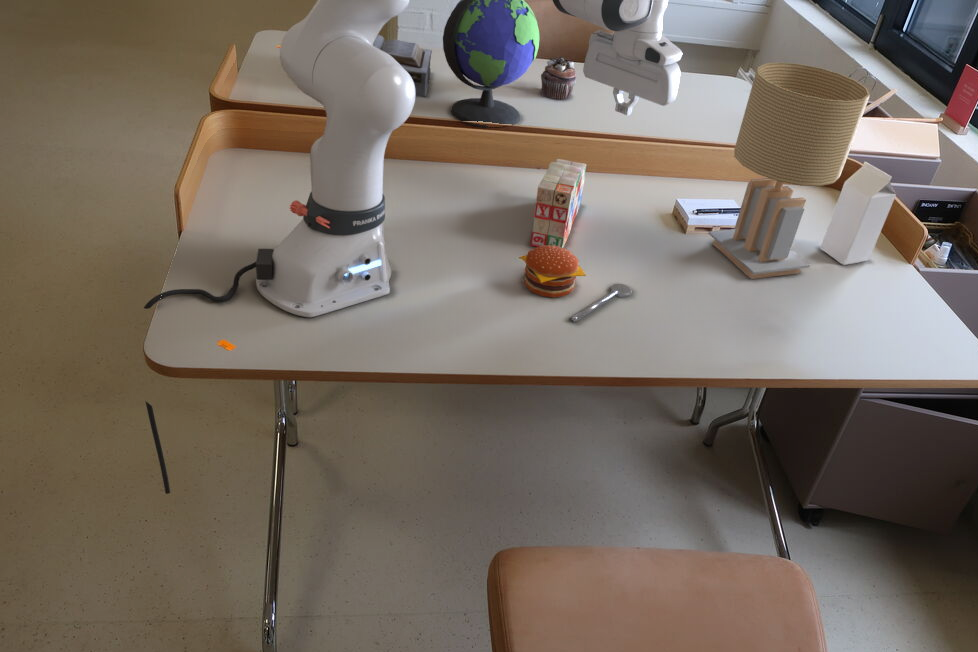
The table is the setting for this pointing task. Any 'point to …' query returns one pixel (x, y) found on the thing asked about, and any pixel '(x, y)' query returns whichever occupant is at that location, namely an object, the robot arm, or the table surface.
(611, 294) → the metal handle tool
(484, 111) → the globe
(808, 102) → the desk lamp
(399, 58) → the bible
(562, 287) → the hamburger
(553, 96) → the cupcake
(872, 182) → the milk carton
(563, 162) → the stack of blocks
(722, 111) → the table surface
